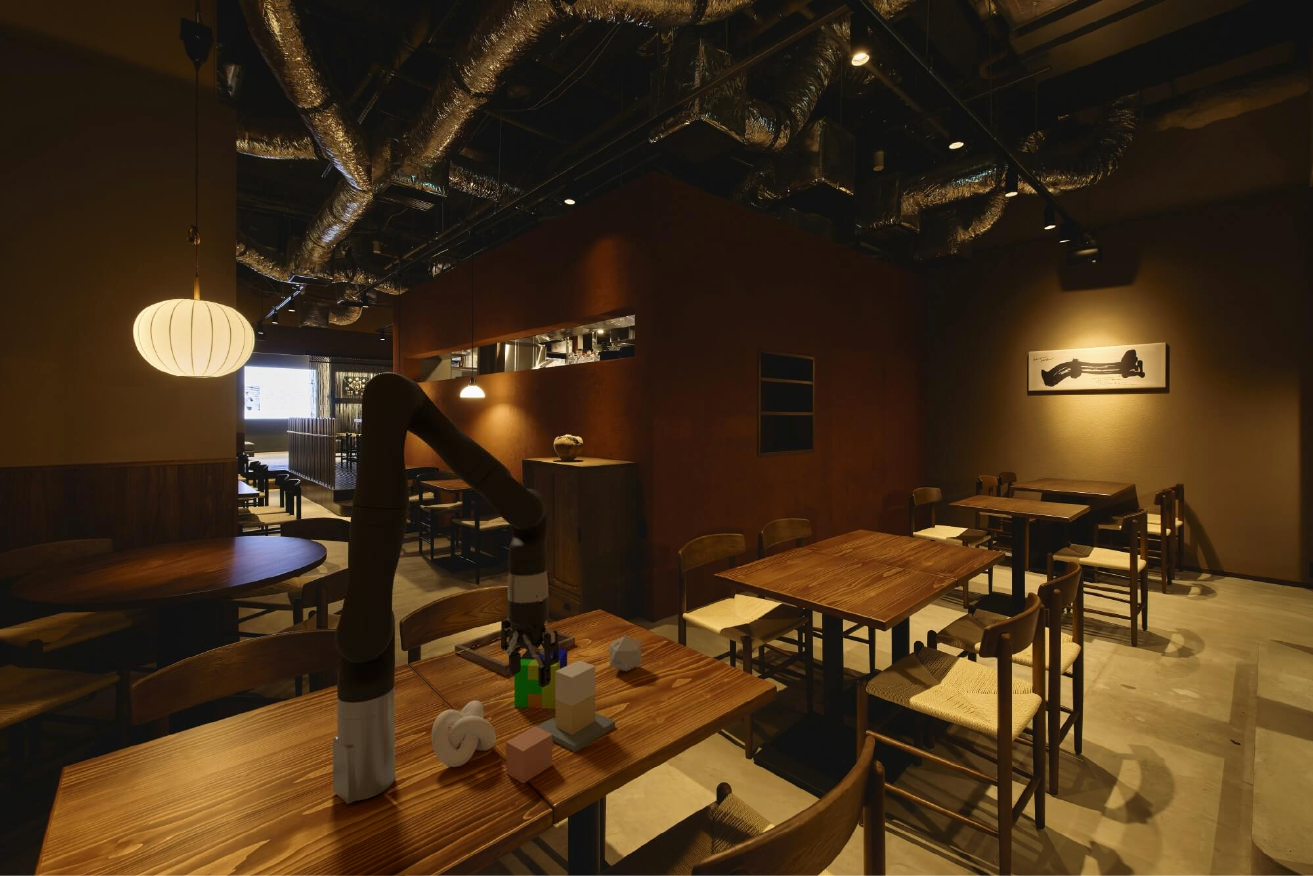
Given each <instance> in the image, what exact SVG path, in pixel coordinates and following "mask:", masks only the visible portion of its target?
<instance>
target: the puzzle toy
mask: <svg viewBox="0 0 1313 876" xmlns="http://www.w3.org/2000/svg"><path fill="white" fill-rule="evenodd" d="M539 649H540V648H537V650H539ZM541 656H542V659H543V660H544V659H545V657H544V654H541ZM551 657H553V652H552V653H551ZM566 666H568V649H559V662H558V663H556V664H554V665H551V681H550V683H549V684H548V685H547V686H545V687H540V686H539V685H538V667H539V665H538V663H537V660H536V658H535V657H532V655H531V652H530V651H528V650H527V649H526V650H525V652H524V653H523V654H522V655H521V671H520V672H519V673H517V674H515V675H513V676H514V677H513V678H514V679H513V681H514V683H513V684H514V686H513V687H514V688H513V689H514V692H513V693H514V699H513V700H514V707H516V708H533V709H534V708H535V709H554V710H556V676H555V671H557V670H559V669H561V668H564V667H566Z"/></svg>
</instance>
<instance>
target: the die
mask: <svg viewBox="0 0 1313 876" xmlns="http://www.w3.org/2000/svg"><path fill="white" fill-rule="evenodd" d="M642 664H643V657H642V643H641V642H640V641H638V640H637V639H634V638H632V637H629V636H628V635H626V634H625V635H624V636H622V637H620V638H618V639H616V640H615V641H613V642H611V643H610V644H609V666H610V667H614V668H615V669H618V670H619V671H622V672H624V671H625V672H626V673H627V672H629V671H631V670H634V668H636V667H638V666H640V665H642Z"/></svg>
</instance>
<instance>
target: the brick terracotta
mask: <svg viewBox="0 0 1313 876" xmlns="http://www.w3.org/2000/svg"><path fill="white" fill-rule="evenodd" d="M505 756H506V757H505V767H506V769H505V773H506V775H509V776H510V777H512V778H513V779H515V780H517V781H518V782H520V783H522V784H525V783H526V782H528V781H529V780H531V779H533V778H534V777H536V776H538V775H539V774H541V773H542V772H544V771H545V770H547V769H549V768H550V767H551V766H553V741H552V734H550V733H548V732H546V731H544V730H542V729H540V728H538V727H537V726H536V725H535V726H533V727H531V728H529V729H527V730H525V731H523V732H522V733H520V734H518V735H516V736H514V737H512V738H510V739H508V740H507V741H505Z"/></svg>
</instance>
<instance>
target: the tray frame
mask: <svg viewBox="0 0 1313 876" xmlns="http://www.w3.org/2000/svg"><path fill="white" fill-rule="evenodd" d="M545 628H546V631H550V632H551V631H554V630H553V629H551V628H547V627H545ZM557 632H558V646H559V649H564V650H567V649H568V648H570V647H573V646H575V645H576V637H575V636H572V635H569V634H566V633H564V632H563V633H562V632H559V631H557ZM498 639H501V629H499V630H496V631H493V632H490V633H487V634H483V635H482V636H478V637H475V638H472V639H470V640H467V641H464V642H462V643H458V644H455V645H454V653H455V652H457V651H461V650H464V651H462V652H460V653H461V654H460V655H459V657H460V656H461V657H462V658H464V659H467V660H468V661H469V660H470V661H472V662H474V663H476V664H478V665H480V666H483V667H484V668H487V669H489V670H491V671H493V672H495V673H498V674H500V675H502V676H507V675H511V674H510V671H509V661H508V662H503V661H500V660H498V659H496V658H493V657H491V656H488V655H486V654H483V653H480V652H479V651H476V650H473V649H468V650H465V649H467V648H471V647H473V646H477V645H480V646H482V644H483V645H485V644H487V643H490V642H494V641H496V640H498ZM484 643H485V644H484ZM477 647H478V646H477ZM458 654H459V653H457V654H456V655H458Z"/></svg>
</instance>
